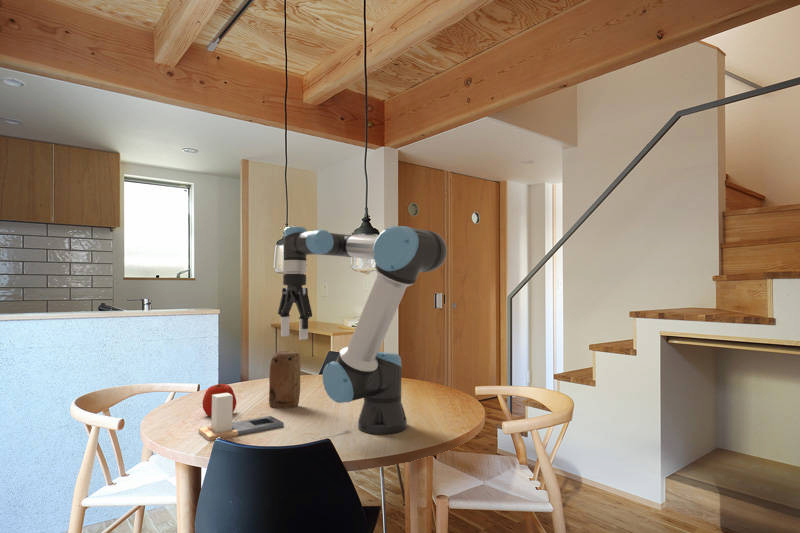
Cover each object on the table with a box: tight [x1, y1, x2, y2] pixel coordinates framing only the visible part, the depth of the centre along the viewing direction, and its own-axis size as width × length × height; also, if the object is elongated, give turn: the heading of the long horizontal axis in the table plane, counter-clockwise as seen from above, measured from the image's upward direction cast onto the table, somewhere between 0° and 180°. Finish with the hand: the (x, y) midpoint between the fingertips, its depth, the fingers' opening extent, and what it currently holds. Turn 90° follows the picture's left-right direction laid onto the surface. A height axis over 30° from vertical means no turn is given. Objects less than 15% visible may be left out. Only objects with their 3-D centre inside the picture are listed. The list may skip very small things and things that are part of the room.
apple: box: [202, 383, 237, 418], centre depth 159 cm, size 11×11×11 cm
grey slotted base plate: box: [198, 415, 285, 442], centre depth 140 cm, size 10×22×2 cm, turn 129°
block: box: [268, 350, 301, 409], centre depth 170 cm, size 11×8×20 cm
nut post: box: [210, 393, 233, 433], centre depth 136 cm, size 4×4×11 cm
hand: (294, 337), depth 155 cm, fingers open, 13 cm apart
